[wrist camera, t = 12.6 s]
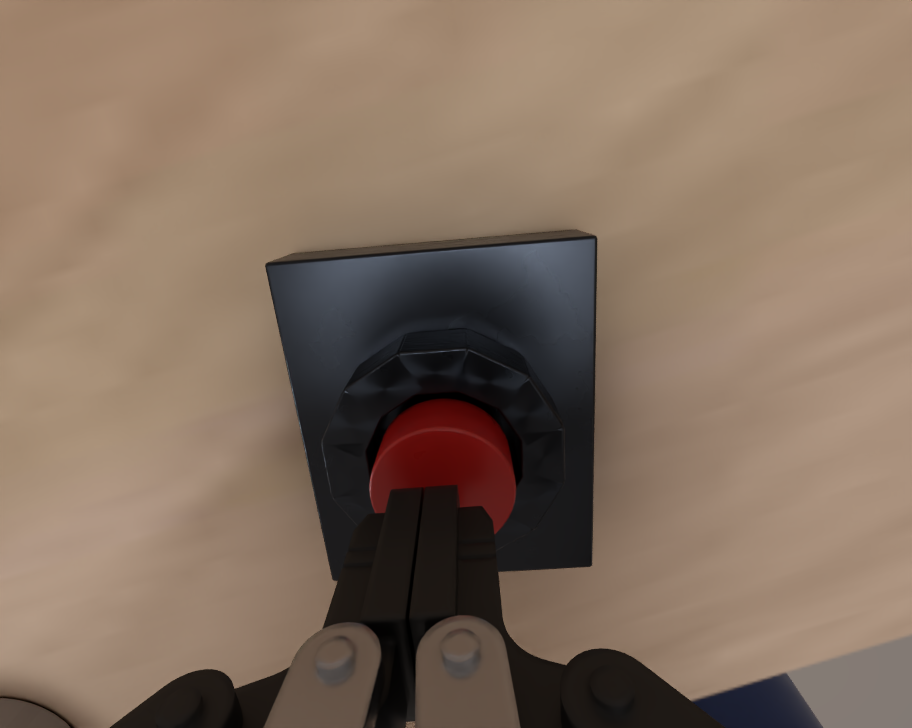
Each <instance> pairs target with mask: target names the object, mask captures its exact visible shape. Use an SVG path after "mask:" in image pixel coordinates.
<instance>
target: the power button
mask: <svg viewBox="0 0 912 728" xmlns="http://www.w3.org/2000/svg"><path fill="white" fill-rule="evenodd" d="M456 484H457V485H458V491H459V500H460V507H471V506H483V508H484V509H485V510H486V512H487V513H488V514H489V516H490V517H491V518H492V520H493V526H494V534H496V533H497V532H498V531H499V530H500V529H501V528H502V527H503V525H504V524H505V522H506V521H507V519H508V518H509V516H510V514H511V512H512V509H513V506H514V503H515V498H516V482H515V475H514V470H513V464H512V459H511V453H510V448H509V444H508V440H507V438H506V435H505V433H504V431H503V430H502V428H501V427H500V425H499V424H498V423H497V422H496V420H495V419H494V418H493V417H492V416H490V415H489V414H488V413H487V412H485V411H484V410H482V409H481V408H479V407H477V406H475V405H473V404H470V403H468V402H465V401H461V400H456V399H433V400H428V401H424V402H420V403H418V404H415V405H413V406H411V407H409V408H408V409H406V410H404V411H403V412H402V413H400V414H399V415H398V416H397V417H396V418H395V419H394V420H393V421H392V422H391V424H390V425H389V426H388V428H387V430H386V432H385V434H384V436H383V439H382V442H381V445H380V448H379V451H378V454H377V457H376V460H375V463H374V466H373V469H372V472H371V476H370V483H369V492H370V499H371V503H372V506H373V508H374V511H375V513H385V511H386V506H387V502H388V498H389V494H390V491H391V489H402V488H416V487H424V490H425V487H428V486H442V485H456Z"/></svg>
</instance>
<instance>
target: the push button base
mask: <svg viewBox="0 0 912 728" xmlns="http://www.w3.org/2000/svg"><path fill="white" fill-rule="evenodd" d="M265 267H266V272H267V276H268V281H269V286H270V290H271V295H272V300H273V304H274V309H275V314H276V318H277V323H278V328H279V332H280V337H281V342H282V346H283V351H284V356H285V360H286V365H287V370H288V374H289V379H290V384H291V388H292V393H293V398H294V402H295V407H296V411H297V416H298V421H299V425H300V430H301V435H302V439H303V444H304V449H305V453H306V458H307V463H308V467H309V472H310V477H311V481H312V486H313V491H314V495H315V500H316V505H317V509H318V514H319V519H320V523H321V528H322V533H323V537H324V542H325V547H326V551H327V556H328V561H329V565H330V570H331V575H332V579H333V580H334V581H338V579H339V576H340V573H341V569H342V568H343V563H344V560H345V557H346V554H347V552H348V547H349V544H350V541H351V538H352V535H353V532H354V530H355V528H356V527H357V526H358V525H359V524H360V523H361V522H362V520H363V519H364V518H365V517H366V516H367V515H368V514H373V513H375V511H374V508H373V506H372V503H371V499H370V492H369V483H370V476H371V472H372V469H373V466H374V463H375V460H376V457H377V454H378V451H379V448H380V445H381V442H382V439H383V436H384V434H385V432H386V430H387V428H388V426H389V425H390V424H391V422H392V421H393V420H394V419H395V418H396V417H397V416H398V415H399V414H400V413H402V412H403V411H404V410H406V409H408V408H409V407H411V406H413V405H415V404H418V403H420V402H424V401H428V400H433V399H456V400H461V401H465V402H468V403H470V404H473V405H475V406H477V407H479V408H481V409H482V410H484V411H485V412H487V413H488V414H489V415H490V416H492V417H493V418H494V419H495V420H496V422H497V423H498V424H499V425H500V427H501V428H502V430H503V431H504V433H505V435H506V438H507V440H508V444H509V448H510V453H511V459H512V464H513V470H514V475H515V482H516V498H515V503H514V506H513V509H512V512H511V514H510V516H509V518H508V519H507V521H506V522H505V524H504V525H503V527H502V528H501V529H500V530H499V531H498V532H497V533H496V534H494V536H495V546H496V557H497V567H498V572H505V571H523V570H541V569H559V568H577V567H591V566H592V546H593V482H594V419H595V355H596V291H597V237H596V236H595V235H592V234H589V233H586V232H583V231H580V230H566V231H554V232H542V233H530V234H519V235H507V236H495V237H483V238H471V239H459V240H447V241H435V242H423V243H412V244H400V245H388V246H376V247H364V248H352V249H340V250H328V251H316V252H305V253H293V254H290V255H287V256H284V257H282V258H279V259H276V260H273V261H270V262H268V263H266V265H265Z"/></svg>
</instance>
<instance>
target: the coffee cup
mask: <svg viewBox="0 0 912 728" xmlns="http://www.w3.org/2000/svg"><path fill="white" fill-rule="evenodd" d="M0 728H71V727H70V726H69V725H68V724H67V723H66V722H65V721H63V720H62V719H61V718H60V717H58V716H57V715H55V714H54V713H52V712H50V711H48V710H46V709H44V708H42V707H40V706H37V705H35V704H32V703H28V702H25V701H21V700H15V699H7V698H0Z"/></svg>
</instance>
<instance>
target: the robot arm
mask: <svg viewBox="0 0 912 728" xmlns="http://www.w3.org/2000/svg"><path fill="white" fill-rule="evenodd" d="M410 721H415V728H725V727H724V726H722V725H721V724H720V723H719V722H717V721H716V720H715V719H713V718H712V717H711V716H709V715H708V714H707V713H706V712H704V711H703V710H702V709H700V708H699V707H698V706H696V705H695V704H694V703H693V702H691V701H690V700H689V699H687V698H686V697H685V696H683V695H682V694H681V693H680V692H678V691H677V690H676V689H674V688H673V687H672V686H670V685H669V684H668V683H667V682H665V681H664V680H663V679H661V678H660V677H659V676H657V675H656V674H655V673H654V672H652V671H651V670H650V669H648V668H647V667H646V666H644V665H643V664H642V663H641V662H639V661H638V660H636V659H635V658H633V657H631V656H629V655H627V654H625V653H622V652H619V651H616V650H611V649H591V650H588V651H584V652H582V653H580V654H578V655H576V656H575V657H574V658H573V659H571V660H570V662H569V663H568V664H567V665H563V664H559V663H555V662H551V661H547V660H544V659H541V658H538V657H535V656H533V655H531V654H529V653H527V652H526V651H524V650H523V649H521V648H520V647H519V646H518V645H517V644H516V643H515V642H514V641H513V640H512V639H511V637H510V636H509V634H508V633H507V631H506V628H505V626H504V623H503V617H502V608H501V597H500V587H499V577H498V567H497V557H496V546H495V536H494V526H493V520H492V518H491V517H490V516H489V514H488V513H487V512H486V510H485V509H484V508H483V506H471V507H460V500H459V491H458V485H457V484H456V485H442V486H428V487H425V490H424V487H416V488H402V489H391V491H390V494H389V498H388V502H387V506H386V511H385V513H373V514H368V515H367V516H366V517H365V518H364V519H363V520H362V522H361V523H360V524H359V525H358V526H357V527H356V528H355V530H354V532H353V535H352V538H351V541H350V544H349V547H348V552H347V554H346V557H345V560H344V563H343V568H342V569H341V573H340V576H339V579H338V582H337V585H336V588H335V592H334V595H333V598H332V601H331V604H330V607H329V610H328V614H327V617H326V620H325V623H324V626H323V629H322V630H320V631H319V632H317V633H316V634H314V635H313V636H311V637H310V638H309V639H308V640H307V641H306V642H305V643H304V644H303V645H302V646H301V648H300V649H299V650H298V652H297V653H296V655H295V657H294V659H293V661H292V664H291V666H290V667H289V668H287V669H285V670H283V671H282V672H279V673H277V674H275V675H272V676H270V677H267V678H264V679H261V680H259V681H256V682H253V683H250V684H247V685H245V686H242V687H239V688H236V689H234V686H233V683H232V681H231V680H230V678H229V677H228V676H227V675H226V674H225V673H223V672H221V671H218V670H213V669H205V670H199V671H194V672H191V673H188V674H186V675H183V676H181V677H179V678H177V679H175V680H174V681H172V682H170V683H169V684H167V685H166V686H164V687H163V688H161V689H160V690H159V691H157V692H156V693H155V694H154V695H152V696H151V697H150V698H148V699H147V700H146V701H144V702H143V703H142V704H140V705H139V706H138V707H136V708H135V709H134V710H132V711H131V712H130V713H128V714H127V715H126V716H124V717H123V718H122V719H120V720H119V721H118V722H116V723H115V724H114V725H112V726H111V727H110V728H405V726H406V722H410Z"/></svg>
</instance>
